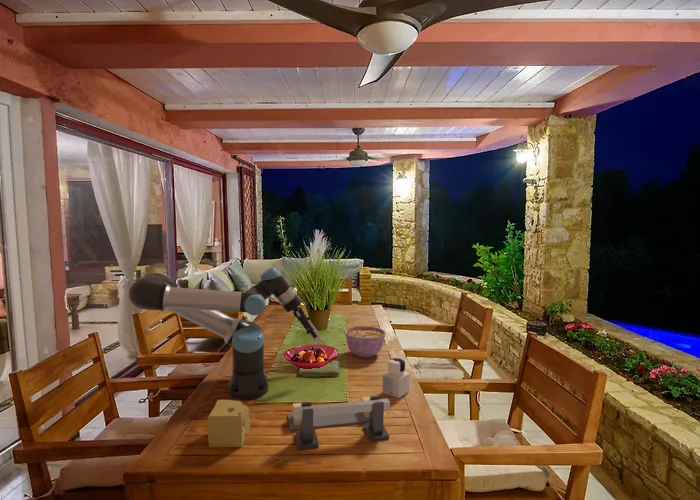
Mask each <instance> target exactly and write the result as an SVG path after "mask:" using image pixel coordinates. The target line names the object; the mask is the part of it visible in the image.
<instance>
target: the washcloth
mask: <svg viewBox="0 0 700 500" xmlns="http://www.w3.org/2000/svg"><path fill="white" fill-rule="evenodd" d="M331 361H332V362H330V363H328V364H327V365H325V366H323V367H320V368H312V369H303V368H300V367H299V370H298V375H301V377H302V378H321V376H326V377H328V376H333V377H338V376H340V366H341V365H340V363H339V361H338V360H331Z"/></svg>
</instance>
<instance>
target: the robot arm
mask: <svg viewBox="0 0 700 500" xmlns="http://www.w3.org/2000/svg"><path fill="white" fill-rule="evenodd" d="M272 295H273V296H274V297H275V299H276V300H277V301H278V303H279V304H280V305H282V307H283V309H284V311H285V312H286V313H290V312H292V313H293V315H294V317H295V318H296V319H297V320H298V322H300V324H301V325H302V326H303V329H305V331H306V335H310V337H311V339H312V340H313V342H315V343H316V345H317V346H318V345H320V344H321V343H322V342H323V341H324V340H323V338H322V337H321V336H320V335H319V334H318V329H317V328H316V327H315V325H314V324H313V323H312V322H311V320H310V319H311V317H309V316H308V315H306V314H305V312H304V310H303V308H302V307H301V306H300V307H299V305H300V304H301V303H302V302H301V301H302V300H301V299H300V298H299V296H298V295H297V294H296V292H295V291H294V287H291V286H290V285H289V282H287V280H286V279H285V278H284V276H283V275H282V273H281V272H280V271H279V270H278V269H277V267H275V266H271V267H269V268H268V269H266V270H265V271H263V272H262V273H261V274H260V280H259V282H257V283H256V284H255V285H253V286H252V287H250V288H249V289H248V290H246V291H243V292H242V291H230V290H218V289H217V290H216V289H200V288H188V287H187V288H186V287H180V285H179V284H177V283H175V282H173V281H172V280H171V278H169V277H168V276H167V275H166V274H164V273H160V272H151V273H147V274H145V275H144V276H142V277H141V278H139V279H137V280H135V281H134V282H133V283H132V284H131V285H130V287H129V290H128V298H129V302H131V304H132V305H133V306H134V307H136V308H137V309H140V310H145V311H161V312H166V311H169V312H172V313H174V314H176V315H178V316H179V317H182V318H183V319H186V320H188V321H190V322H191V323H194V324H196V325H197V326H199V327H202V328H203V329H205V330H207V331H209V332H211V333H213V334H215V335H218V337H220V338H221V337H222V338H223V339H224V343H225V344H226V345H228V346H231V347H232V351H231V352H232V353H231V354H232V373H231V377H230V379H229V382H228V387H227V394H228V396H229V397H230V398H232V399H235V400H239V401H241V400H243V401H246V400H254V399H258V398H260V397H262V396H265V395H266V394H267V393H268V392H269V382H268V379H267V377H266V373H265V368H264V367H265V365H264V363H265V361H264V358H265V356H264V355H265V353H264V350H265V347H264V346H265V345H264V343H265V336H264V335H265V334H264V331H263V329H262V327H261V326H260V325H259V324H258V323H257V322H255V321H250V320H248V321H247V320H245V319H243V318H242V317H237V318H234V317H231V316H230V315H228V314H226V313H223V312H234V313H236V312H237V313H247V314H248V315H250V316H257V315H260V314H262V312H263V311H264V310H265V307H266V300H267V299H268V298H271V296H272Z"/></svg>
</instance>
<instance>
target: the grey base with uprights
mask: <svg viewBox="0 0 700 500" xmlns="http://www.w3.org/2000/svg"><path fill="white" fill-rule="evenodd" d="M360 399H361V400H360V401H366V400H370V396H361V398H360ZM301 403H302V402H295V403H294V402H293V403H292V408H293V407H301ZM369 416H370V411H368V412H358V413H348V414H339V415H329V416H319V417H313V429H318V428H319V429H320V428H321V429H322V428H329V427H338V426H349V425H357V424H365V423H369ZM287 419H288V427H289V431H291V432H294V431H301V418H299V419H294V416H293V412H292V413H290V412H289V413H287Z"/></svg>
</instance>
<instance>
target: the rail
mask: <svg viewBox="0 0 700 500" xmlns="http://www.w3.org/2000/svg"><path fill="white" fill-rule="evenodd" d="M374 402H384V411H386V410H390V409H391V401H390V400H389V398H380V399H377V400H366V401H361V400H360V401H359V400H358V401H348V402H339V403H327V404H314V405H311V406H303V407H293V406H292V413H293V416H294V419H299V418H303V409H310V408H313V417H319V416H329V415H339V414H348V413H358V412H368V411H374Z"/></svg>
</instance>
